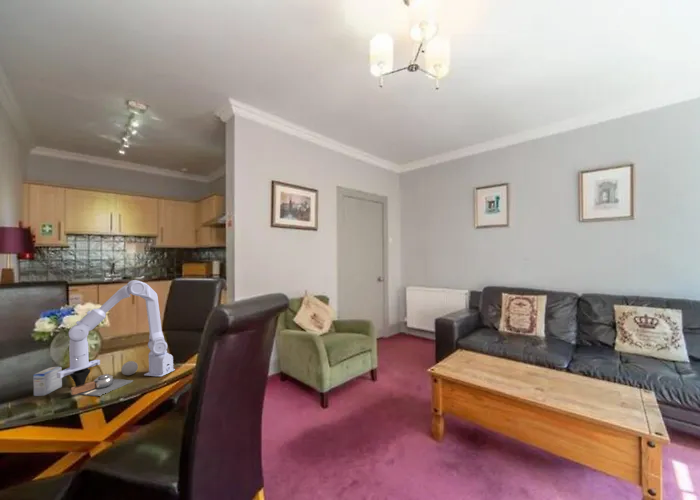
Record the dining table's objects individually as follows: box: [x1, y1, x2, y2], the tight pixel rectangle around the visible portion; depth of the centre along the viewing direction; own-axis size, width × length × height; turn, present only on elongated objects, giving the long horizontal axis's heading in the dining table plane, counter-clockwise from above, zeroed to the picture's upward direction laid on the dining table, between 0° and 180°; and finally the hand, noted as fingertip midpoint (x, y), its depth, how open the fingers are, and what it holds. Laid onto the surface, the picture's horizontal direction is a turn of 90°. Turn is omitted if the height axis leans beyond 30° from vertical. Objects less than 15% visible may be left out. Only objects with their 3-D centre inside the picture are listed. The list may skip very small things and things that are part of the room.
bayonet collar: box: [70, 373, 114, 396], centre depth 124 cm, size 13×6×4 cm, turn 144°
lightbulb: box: [121, 360, 139, 376], centre depth 142 cm, size 6×6×11 cm
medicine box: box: [32, 366, 63, 397], centre depth 125 cm, size 8×4×9 cm, turn 5°
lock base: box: [77, 378, 134, 397], centre depth 127 cm, size 14×14×1 cm
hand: (80, 388), depth 123 cm, fingers closed
